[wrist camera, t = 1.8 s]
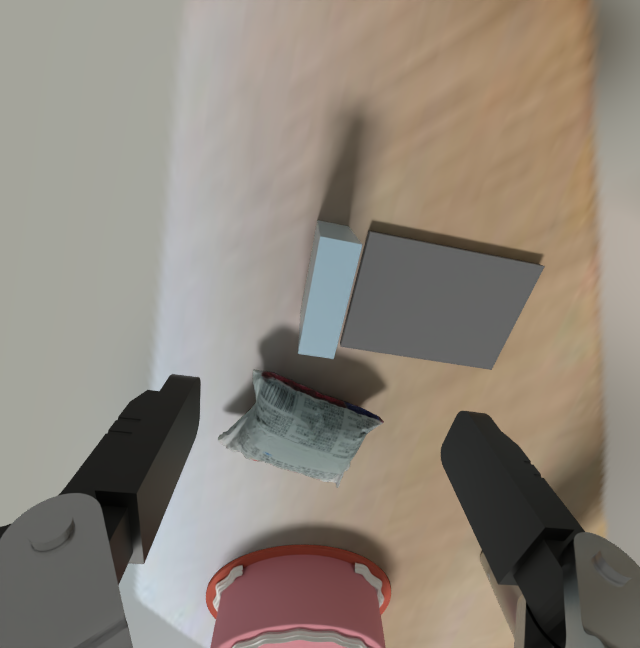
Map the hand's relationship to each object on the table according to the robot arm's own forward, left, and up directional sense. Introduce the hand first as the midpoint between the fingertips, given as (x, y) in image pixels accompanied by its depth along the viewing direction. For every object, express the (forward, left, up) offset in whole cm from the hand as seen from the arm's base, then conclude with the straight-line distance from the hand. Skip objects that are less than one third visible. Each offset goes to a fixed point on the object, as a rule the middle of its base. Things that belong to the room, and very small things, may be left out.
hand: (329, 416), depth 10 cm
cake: (-6, +45, -15) cm, 48 cm away
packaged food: (-1, +13, -15) cm, 20 cm away
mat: (-9, +1, -15) cm, 17 cm away
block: (0, 0, -15) cm, 15 cm away
